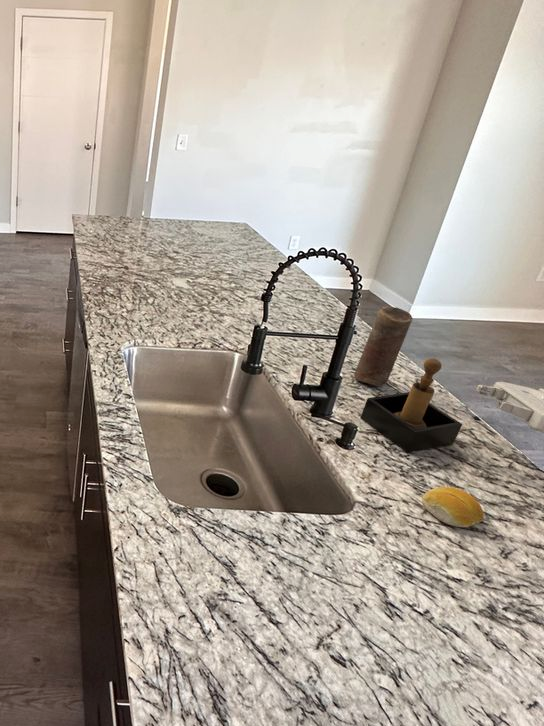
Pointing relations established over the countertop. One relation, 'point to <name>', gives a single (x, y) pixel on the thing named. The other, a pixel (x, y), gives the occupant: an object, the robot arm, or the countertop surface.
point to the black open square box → (435, 435)
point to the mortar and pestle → (420, 396)
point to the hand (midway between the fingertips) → (488, 396)
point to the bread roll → (453, 506)
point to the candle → (383, 346)
